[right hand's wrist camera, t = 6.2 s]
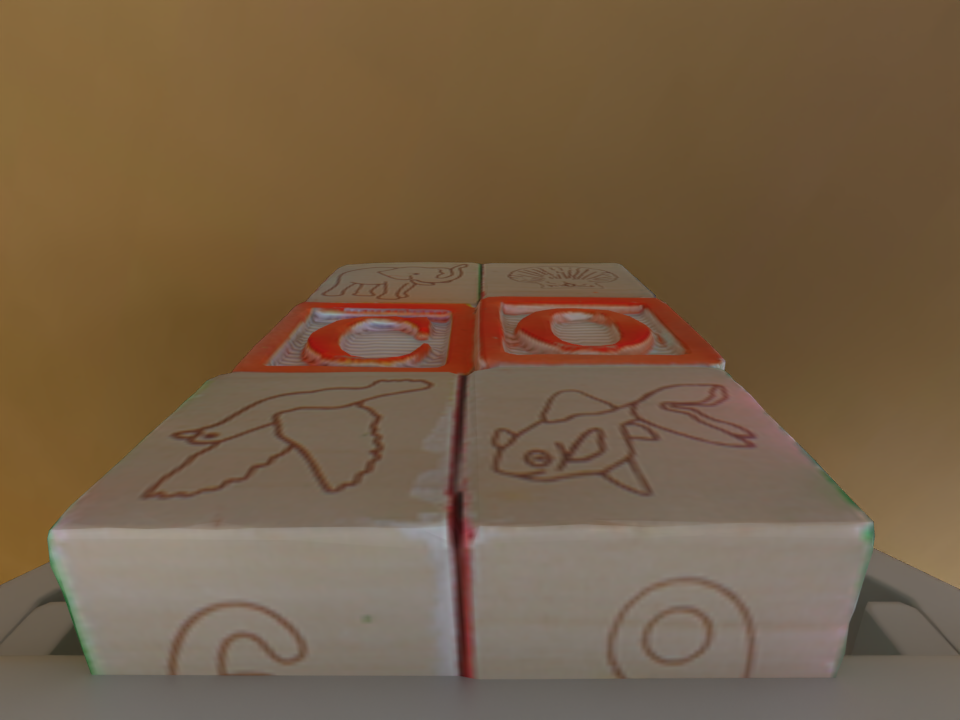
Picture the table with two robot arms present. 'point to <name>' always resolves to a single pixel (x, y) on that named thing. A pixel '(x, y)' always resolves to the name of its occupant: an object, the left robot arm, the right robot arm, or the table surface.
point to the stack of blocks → (468, 499)
